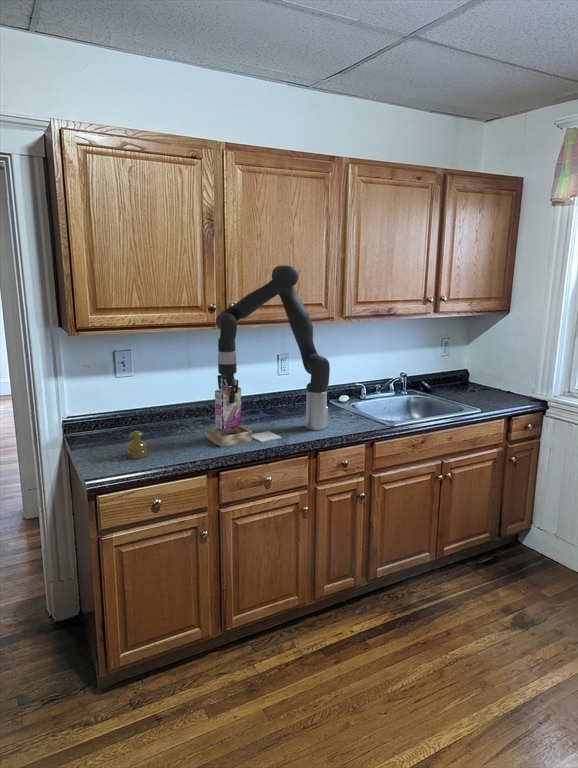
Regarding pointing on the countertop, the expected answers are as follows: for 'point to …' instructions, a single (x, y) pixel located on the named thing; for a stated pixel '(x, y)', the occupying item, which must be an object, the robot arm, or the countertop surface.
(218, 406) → the candy bar box
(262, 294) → the robot arm
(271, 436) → the mat
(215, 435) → the wooden square frame
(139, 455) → the brass calibration weight
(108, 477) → the countertop surface
